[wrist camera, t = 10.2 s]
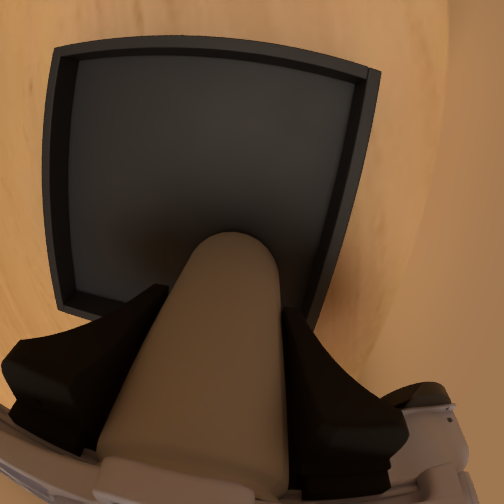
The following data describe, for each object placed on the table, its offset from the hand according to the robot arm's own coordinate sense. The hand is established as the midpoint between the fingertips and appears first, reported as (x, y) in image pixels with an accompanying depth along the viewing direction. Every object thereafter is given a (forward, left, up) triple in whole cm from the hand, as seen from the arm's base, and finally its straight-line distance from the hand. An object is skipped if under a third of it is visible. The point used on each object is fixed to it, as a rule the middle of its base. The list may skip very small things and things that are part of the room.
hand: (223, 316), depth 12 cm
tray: (+3, -3, -4) cm, 6 cm away
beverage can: (0, 0, -4) cm, 4 cm away
